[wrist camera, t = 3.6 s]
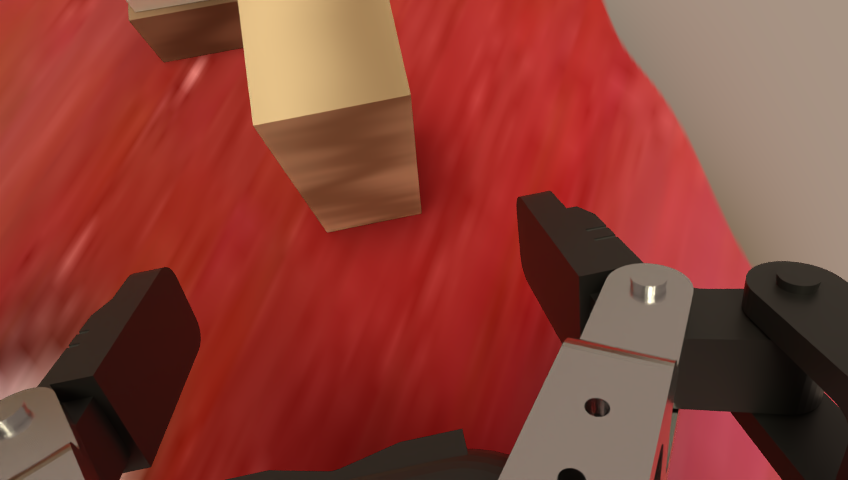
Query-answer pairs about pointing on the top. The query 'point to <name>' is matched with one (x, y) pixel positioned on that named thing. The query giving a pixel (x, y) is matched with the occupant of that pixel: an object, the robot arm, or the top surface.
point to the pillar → (334, 105)
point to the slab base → (190, 28)
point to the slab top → (156, 4)
